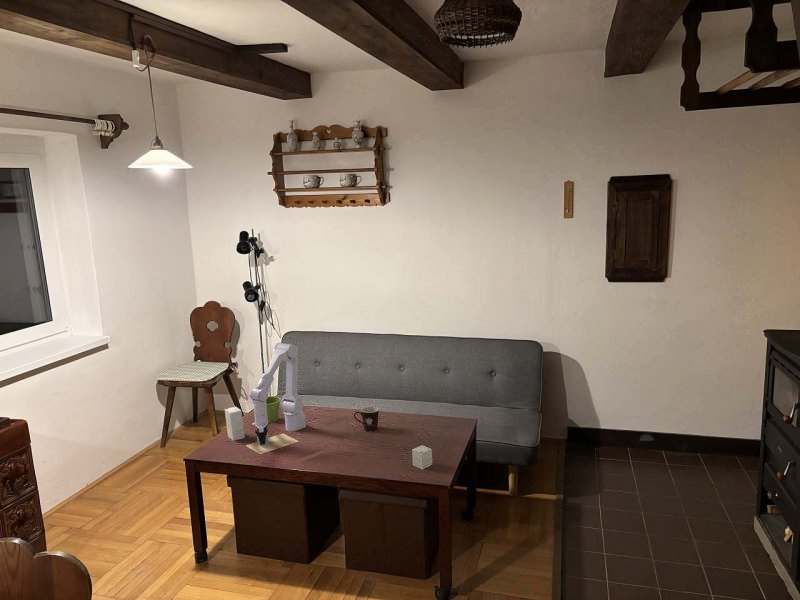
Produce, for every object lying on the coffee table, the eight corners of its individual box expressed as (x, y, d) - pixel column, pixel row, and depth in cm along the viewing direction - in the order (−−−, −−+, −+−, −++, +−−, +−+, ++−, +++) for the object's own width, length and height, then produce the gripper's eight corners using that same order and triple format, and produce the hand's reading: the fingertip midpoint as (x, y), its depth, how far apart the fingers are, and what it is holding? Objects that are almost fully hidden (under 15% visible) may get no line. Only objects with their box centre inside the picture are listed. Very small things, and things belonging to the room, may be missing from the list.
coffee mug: (383, 427, 312) (382, 408, 310) (373, 433, 305) (372, 413, 303) (363, 423, 318) (362, 404, 316) (353, 429, 311) (352, 410, 309)
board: (283, 435, 306) (282, 433, 306) (298, 443, 296) (298, 441, 296) (245, 447, 293) (245, 445, 293) (260, 456, 283) (260, 454, 283)
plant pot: (254, 421, 327) (252, 400, 325) (274, 415, 335) (272, 394, 333) (266, 427, 318) (265, 405, 316) (286, 420, 326) (285, 399, 324)
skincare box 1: (245, 440, 303) (242, 410, 300) (232, 443, 299) (230, 413, 297) (239, 434, 310) (236, 405, 307) (226, 438, 306) (224, 408, 304)
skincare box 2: (422, 461, 273) (421, 444, 271) (432, 465, 268) (432, 448, 267) (412, 465, 269) (411, 449, 267) (422, 469, 264) (422, 453, 263)
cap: (255, 444, 294) (254, 433, 293) (263, 440, 298) (262, 430, 297) (262, 446, 291) (262, 436, 290) (271, 442, 295) (270, 432, 295)
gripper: (252, 409, 299) (254, 436, 301) (251, 419, 285) (253, 448, 287) (267, 407, 300) (269, 434, 302) (267, 418, 286) (269, 446, 288)
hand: (262, 441), depth 295 cm, fingers open, 6 cm apart
